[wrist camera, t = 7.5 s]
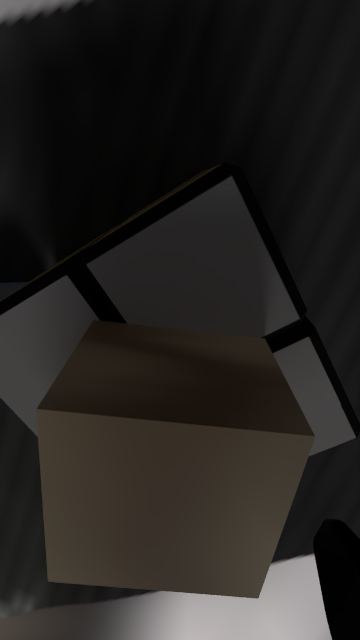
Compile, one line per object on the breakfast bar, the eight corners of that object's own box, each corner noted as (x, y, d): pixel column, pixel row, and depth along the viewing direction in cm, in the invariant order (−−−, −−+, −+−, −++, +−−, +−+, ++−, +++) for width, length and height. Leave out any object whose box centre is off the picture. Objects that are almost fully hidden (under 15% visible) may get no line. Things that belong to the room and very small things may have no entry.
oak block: (91, 451, 11) (48, 581, 8) (93, 319, 9) (36, 408, 6) (234, 465, 12) (258, 598, 8) (265, 338, 10) (314, 436, 6)
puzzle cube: (285, 322, 20) (370, 440, 11) (148, 389, 22) (123, 536, 13) (208, 167, 17) (237, 152, 8) (54, 263, 19) (-66, 343, 10)
